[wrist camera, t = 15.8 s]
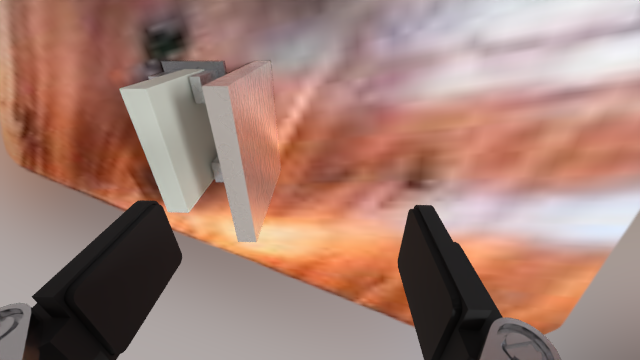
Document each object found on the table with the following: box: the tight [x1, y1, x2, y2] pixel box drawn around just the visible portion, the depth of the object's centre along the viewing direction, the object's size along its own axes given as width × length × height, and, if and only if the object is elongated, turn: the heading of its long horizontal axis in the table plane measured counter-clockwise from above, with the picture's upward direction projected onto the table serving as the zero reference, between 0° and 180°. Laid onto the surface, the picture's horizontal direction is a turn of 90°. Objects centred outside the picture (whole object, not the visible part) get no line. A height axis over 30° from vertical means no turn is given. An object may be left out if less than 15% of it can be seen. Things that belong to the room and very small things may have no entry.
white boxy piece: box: [148, 61, 281, 242], centre depth 30 cm, size 16×14×16 cm
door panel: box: [119, 69, 218, 213], centre depth 31 cm, size 14×2×12 cm, turn 0°
